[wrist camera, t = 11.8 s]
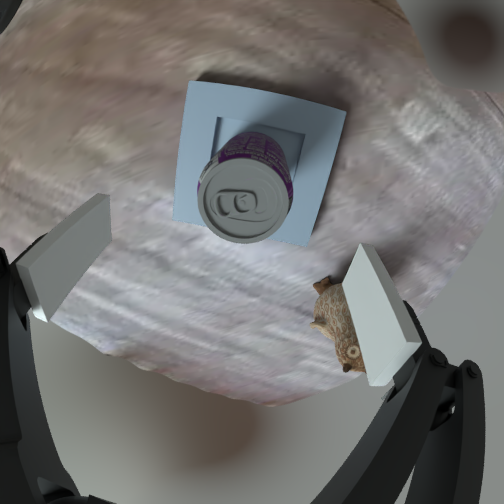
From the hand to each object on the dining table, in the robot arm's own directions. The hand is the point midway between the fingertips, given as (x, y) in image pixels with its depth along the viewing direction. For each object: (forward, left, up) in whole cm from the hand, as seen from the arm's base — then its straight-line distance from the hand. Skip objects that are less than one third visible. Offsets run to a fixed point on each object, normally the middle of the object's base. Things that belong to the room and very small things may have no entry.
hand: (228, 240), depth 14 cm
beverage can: (0, 0, -18) cm, 18 cm away
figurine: (+15, +15, -19) cm, 29 cm away
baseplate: (0, 0, -19) cm, 19 cm away
